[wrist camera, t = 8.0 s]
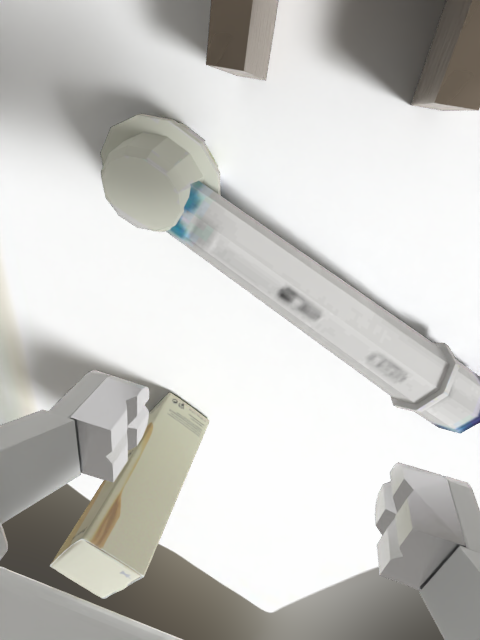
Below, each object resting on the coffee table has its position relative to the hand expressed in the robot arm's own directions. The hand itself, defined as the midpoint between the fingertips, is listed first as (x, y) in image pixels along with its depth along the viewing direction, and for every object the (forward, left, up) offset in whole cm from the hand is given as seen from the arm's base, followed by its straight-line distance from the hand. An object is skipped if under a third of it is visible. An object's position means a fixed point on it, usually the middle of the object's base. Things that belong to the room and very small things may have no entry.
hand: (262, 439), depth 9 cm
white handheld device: (0, -1, -15) cm, 15 cm away
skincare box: (-7, -18, -15) cm, 24 cm away
